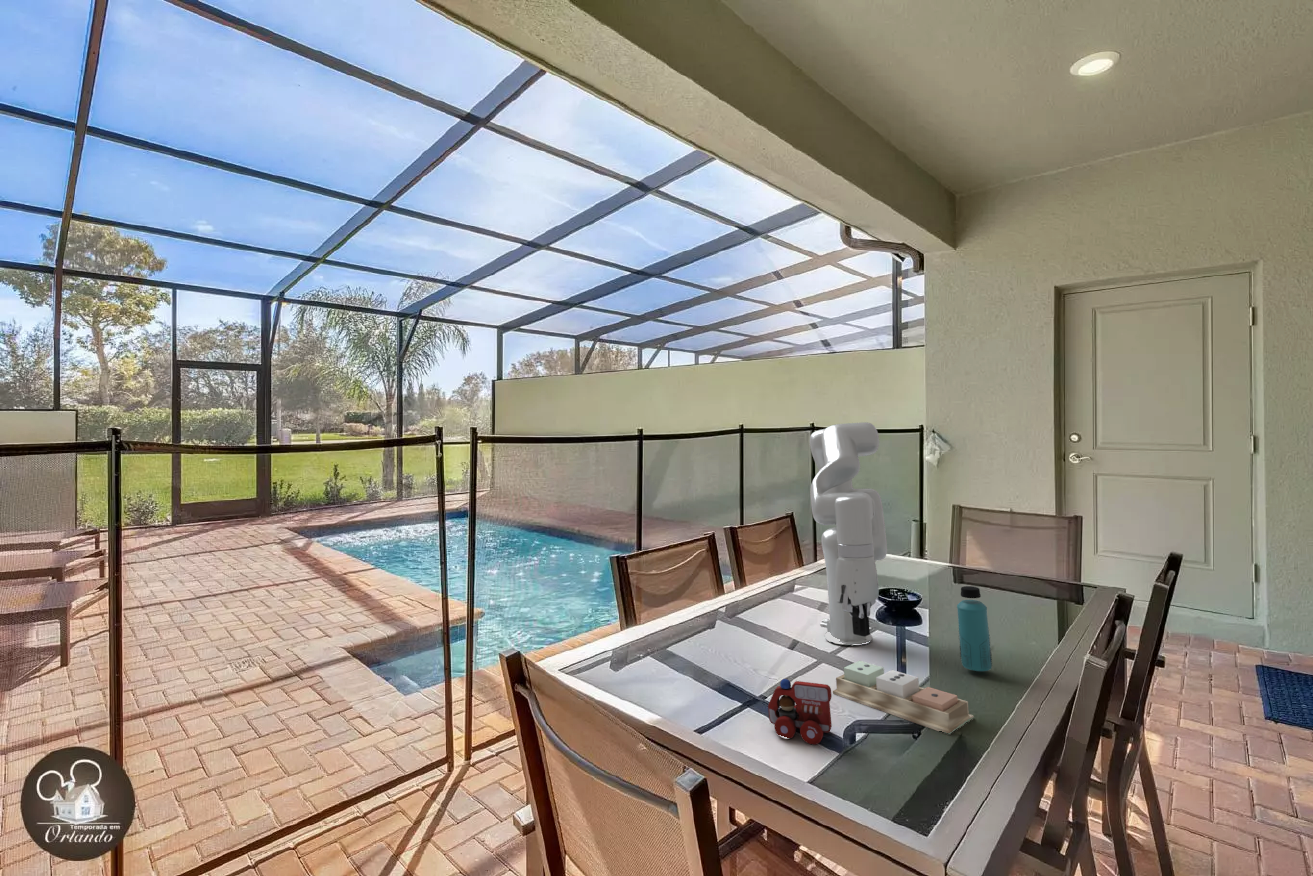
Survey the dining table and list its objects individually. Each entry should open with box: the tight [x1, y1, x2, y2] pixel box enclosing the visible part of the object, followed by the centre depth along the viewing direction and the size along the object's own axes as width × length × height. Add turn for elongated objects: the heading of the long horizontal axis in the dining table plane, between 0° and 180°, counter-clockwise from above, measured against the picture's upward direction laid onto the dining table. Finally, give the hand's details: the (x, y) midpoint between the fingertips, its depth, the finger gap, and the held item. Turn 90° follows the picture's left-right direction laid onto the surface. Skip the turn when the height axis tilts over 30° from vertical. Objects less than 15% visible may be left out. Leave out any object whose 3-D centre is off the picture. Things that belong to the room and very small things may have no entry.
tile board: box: [832, 674, 975, 733], centre depth 122 cm, size 26×10×3 cm, turn 37°
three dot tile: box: [876, 669, 920, 699], centre depth 122 cm, size 6×6×4 cm
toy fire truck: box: [767, 678, 833, 746], centre depth 113 cm, size 7×12×10 cm, turn 60°
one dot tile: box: [912, 686, 959, 712], centre depth 116 cm, size 6×6×4 cm
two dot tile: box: [843, 660, 885, 687], centre depth 129 cm, size 6×6×4 cm
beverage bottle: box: [956, 585, 993, 672], centre depth 137 cm, size 6×7×20 cm
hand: (861, 634), depth 128 cm, fingers closed
